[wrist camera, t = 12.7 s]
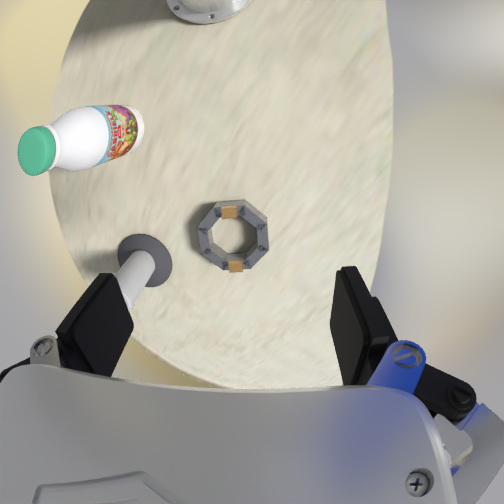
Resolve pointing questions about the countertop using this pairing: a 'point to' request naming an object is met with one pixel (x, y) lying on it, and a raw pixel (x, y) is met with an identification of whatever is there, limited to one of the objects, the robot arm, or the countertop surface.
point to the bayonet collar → (233, 260)
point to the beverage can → (135, 276)
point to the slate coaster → (154, 249)
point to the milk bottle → (81, 139)
